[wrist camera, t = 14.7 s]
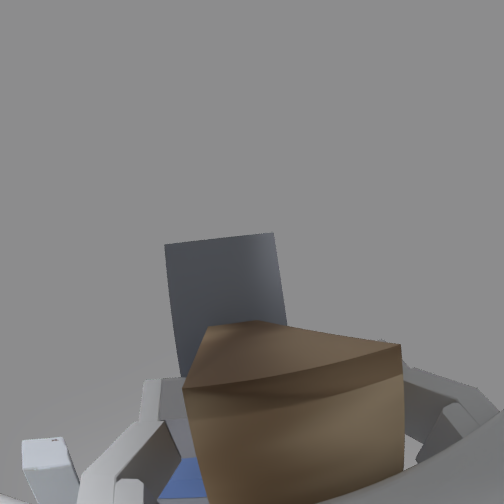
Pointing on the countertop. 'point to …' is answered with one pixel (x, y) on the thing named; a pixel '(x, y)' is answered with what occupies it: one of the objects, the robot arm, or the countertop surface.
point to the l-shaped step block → (216, 312)
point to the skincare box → (50, 471)
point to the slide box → (293, 413)
